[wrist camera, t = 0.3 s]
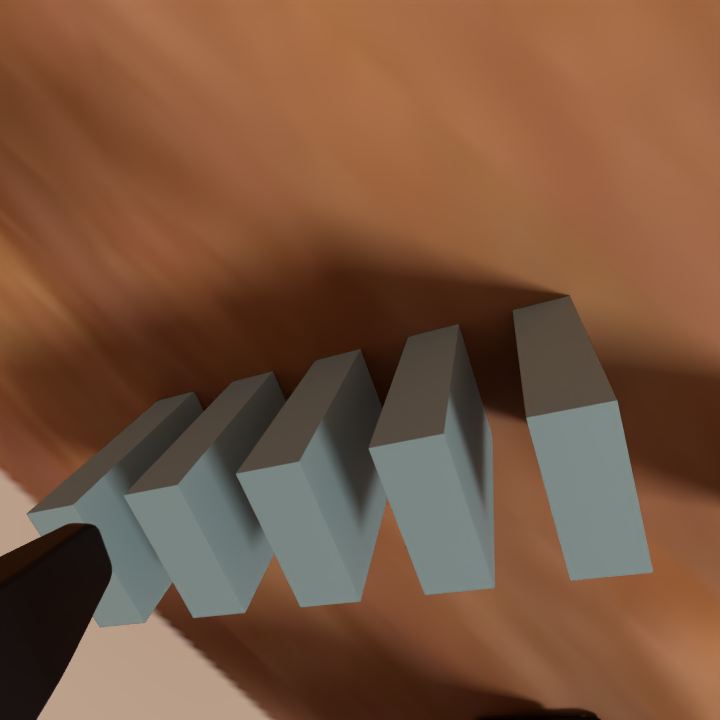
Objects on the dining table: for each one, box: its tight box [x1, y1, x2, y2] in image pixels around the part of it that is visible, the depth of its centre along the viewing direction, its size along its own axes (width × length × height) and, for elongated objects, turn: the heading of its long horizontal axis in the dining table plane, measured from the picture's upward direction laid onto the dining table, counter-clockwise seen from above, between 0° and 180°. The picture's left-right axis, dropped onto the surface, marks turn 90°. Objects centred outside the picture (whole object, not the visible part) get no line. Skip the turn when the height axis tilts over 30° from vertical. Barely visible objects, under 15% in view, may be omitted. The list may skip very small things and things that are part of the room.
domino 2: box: [123, 371, 286, 618], centre depth 21 cm, size 2×5×8 cm, turn 20°
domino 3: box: [236, 349, 387, 607], centre depth 20 cm, size 2×5×8 cm, turn 20°
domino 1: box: [27, 391, 204, 627], centre depth 22 cm, size 2×5×8 cm, turn 20°
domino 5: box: [513, 296, 653, 581], centre depth 17 cm, size 2×5×8 cm, turn 20°
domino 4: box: [368, 324, 495, 595], centre depth 18 cm, size 2×5×8 cm, turn 20°
